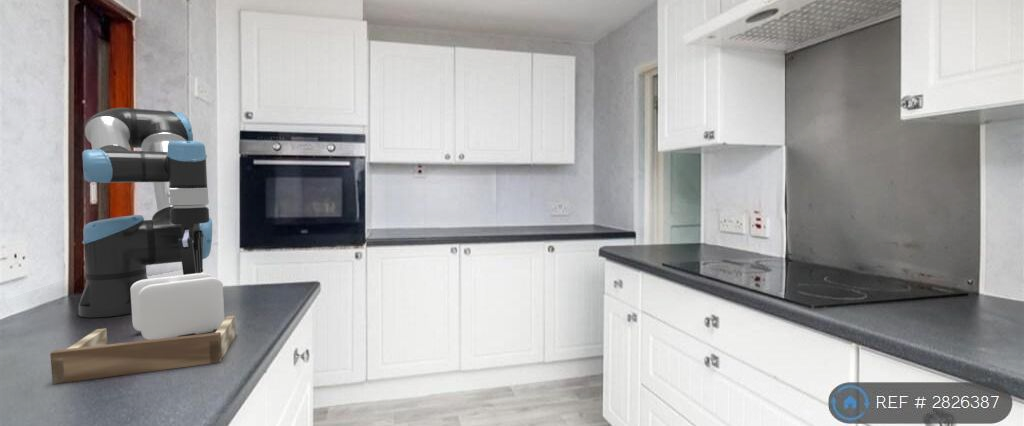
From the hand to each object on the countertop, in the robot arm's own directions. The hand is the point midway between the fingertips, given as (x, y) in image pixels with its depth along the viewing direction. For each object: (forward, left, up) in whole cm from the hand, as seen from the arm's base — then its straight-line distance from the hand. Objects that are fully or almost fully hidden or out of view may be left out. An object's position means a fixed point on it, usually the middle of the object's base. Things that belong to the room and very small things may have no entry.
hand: (195, 304), depth 114 cm
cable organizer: (+14, 0, -3) cm, 14 cm away
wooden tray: (+29, 0, -3) cm, 29 cm away
